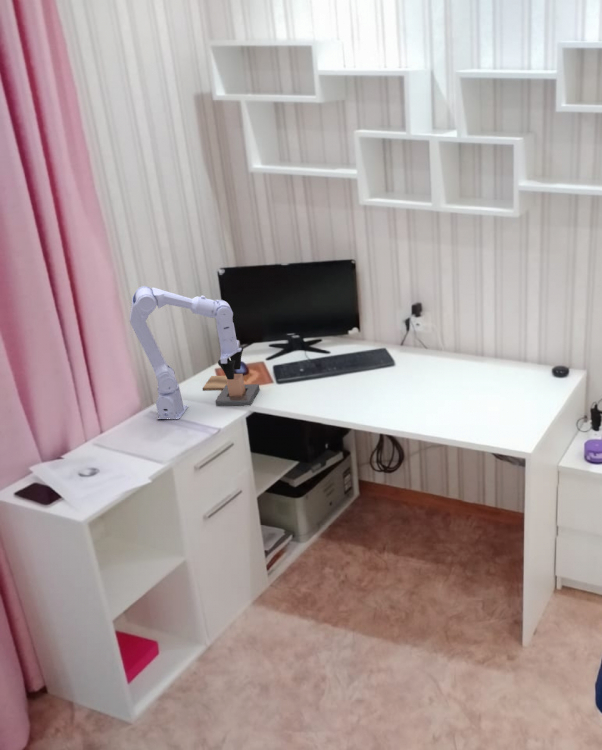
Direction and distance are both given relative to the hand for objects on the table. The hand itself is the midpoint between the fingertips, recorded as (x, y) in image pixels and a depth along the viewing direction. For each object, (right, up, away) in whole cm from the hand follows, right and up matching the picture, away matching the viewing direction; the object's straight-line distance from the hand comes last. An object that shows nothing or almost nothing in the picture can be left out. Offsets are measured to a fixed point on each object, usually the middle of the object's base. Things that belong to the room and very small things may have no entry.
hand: (234, 374), depth 295 cm
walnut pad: (-6, -3, +16) cm, 17 cm away
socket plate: (+1, -8, +4) cm, 9 cm away
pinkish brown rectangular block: (+1, -8, +4) cm, 9 cm away
